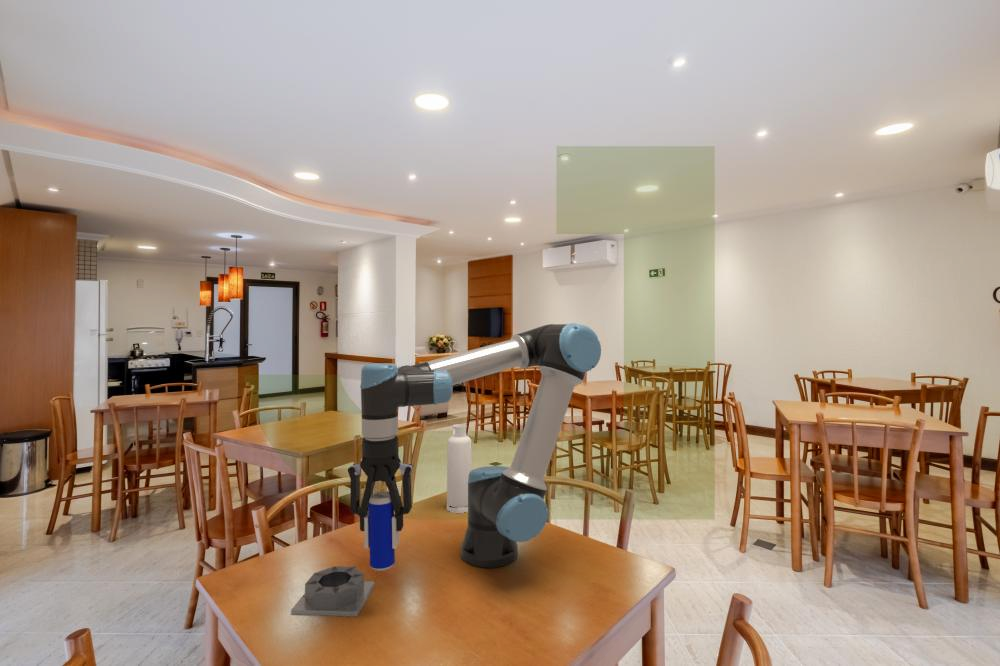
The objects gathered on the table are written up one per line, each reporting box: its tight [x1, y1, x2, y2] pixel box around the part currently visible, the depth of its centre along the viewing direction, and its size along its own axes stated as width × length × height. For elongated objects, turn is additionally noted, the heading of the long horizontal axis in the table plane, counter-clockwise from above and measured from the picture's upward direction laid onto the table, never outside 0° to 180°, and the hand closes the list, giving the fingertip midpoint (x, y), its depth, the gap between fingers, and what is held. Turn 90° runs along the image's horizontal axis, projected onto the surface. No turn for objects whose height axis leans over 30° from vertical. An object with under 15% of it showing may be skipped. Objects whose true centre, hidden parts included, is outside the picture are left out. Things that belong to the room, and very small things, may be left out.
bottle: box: [446, 423, 472, 514], centre depth 160 cm, size 8×8×28 cm
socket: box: [290, 565, 375, 617], centre depth 106 cm, size 14×12×4 cm
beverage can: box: [368, 491, 396, 572], centre depth 102 cm, size 5×5×15 cm
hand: (382, 545), depth 102 cm, fingers closed on beverage can, 5 cm apart
